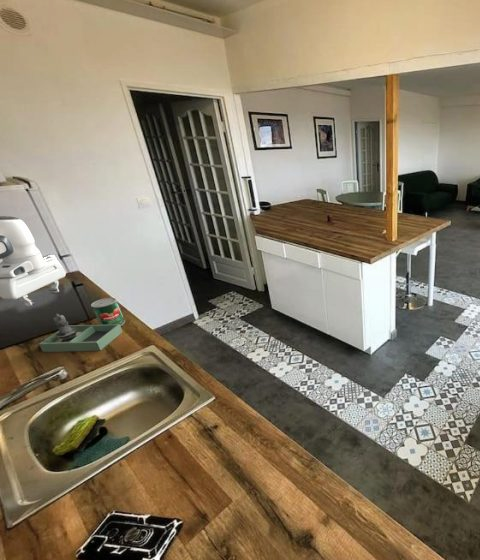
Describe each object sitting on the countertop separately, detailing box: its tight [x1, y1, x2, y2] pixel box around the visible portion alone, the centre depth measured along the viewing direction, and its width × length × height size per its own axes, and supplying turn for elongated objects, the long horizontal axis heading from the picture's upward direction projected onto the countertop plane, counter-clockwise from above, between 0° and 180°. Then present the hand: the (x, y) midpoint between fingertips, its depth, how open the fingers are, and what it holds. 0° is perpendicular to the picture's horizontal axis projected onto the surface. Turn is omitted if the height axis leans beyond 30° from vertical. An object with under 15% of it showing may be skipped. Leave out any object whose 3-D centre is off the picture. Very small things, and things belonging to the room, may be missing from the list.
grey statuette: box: [53, 313, 77, 342], centre depth 117 cm, size 6×6×12 cm
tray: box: [38, 324, 123, 353], centre depth 120 cm, size 12×20×4 cm, turn 95°
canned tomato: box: [90, 297, 126, 326], centre depth 129 cm, size 8×8×11 cm
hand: (43, 298), depth 111 cm, fingers open, 8 cm apart
